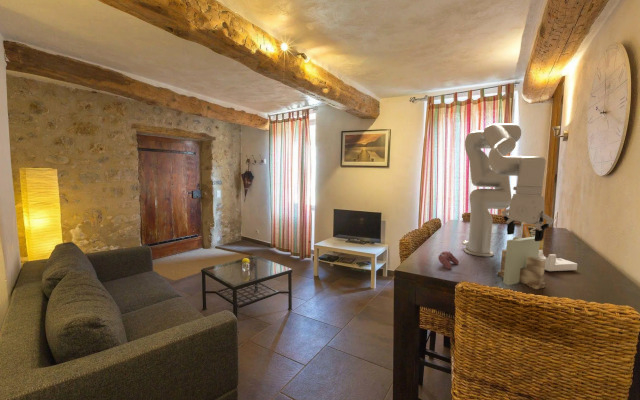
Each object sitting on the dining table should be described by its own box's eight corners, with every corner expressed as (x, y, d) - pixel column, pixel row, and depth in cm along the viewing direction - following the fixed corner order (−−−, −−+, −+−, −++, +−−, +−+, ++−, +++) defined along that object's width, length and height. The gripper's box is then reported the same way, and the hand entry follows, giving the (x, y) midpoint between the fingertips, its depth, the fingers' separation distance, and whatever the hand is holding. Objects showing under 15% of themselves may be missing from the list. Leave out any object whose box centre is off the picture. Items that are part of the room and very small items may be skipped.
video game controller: (450, 265, 127) (443, 250, 129) (460, 263, 124) (453, 248, 125) (441, 271, 120) (434, 255, 121) (451, 269, 117) (444, 252, 118)
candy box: (539, 254, 140) (543, 223, 139) (542, 256, 137) (545, 225, 135) (518, 252, 144) (521, 221, 142) (520, 254, 140) (523, 223, 138)
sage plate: (503, 283, 105) (507, 240, 103) (530, 276, 111) (534, 236, 109) (508, 285, 103) (512, 241, 101) (536, 278, 109) (540, 237, 108)
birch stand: (497, 275, 112) (499, 250, 111) (505, 273, 114) (508, 248, 113) (536, 289, 100) (539, 261, 99) (544, 287, 102) (547, 259, 101)
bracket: (548, 273, 116) (550, 255, 115) (533, 267, 123) (535, 250, 122) (576, 272, 118) (578, 254, 117) (559, 266, 125) (561, 249, 124)
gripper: (498, 189, 109) (494, 232, 112) (549, 194, 94) (543, 244, 96) (511, 188, 112) (506, 231, 115) (563, 193, 97) (556, 242, 99)
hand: (523, 237), depth 106 cm, fingers open, 9 cm apart
